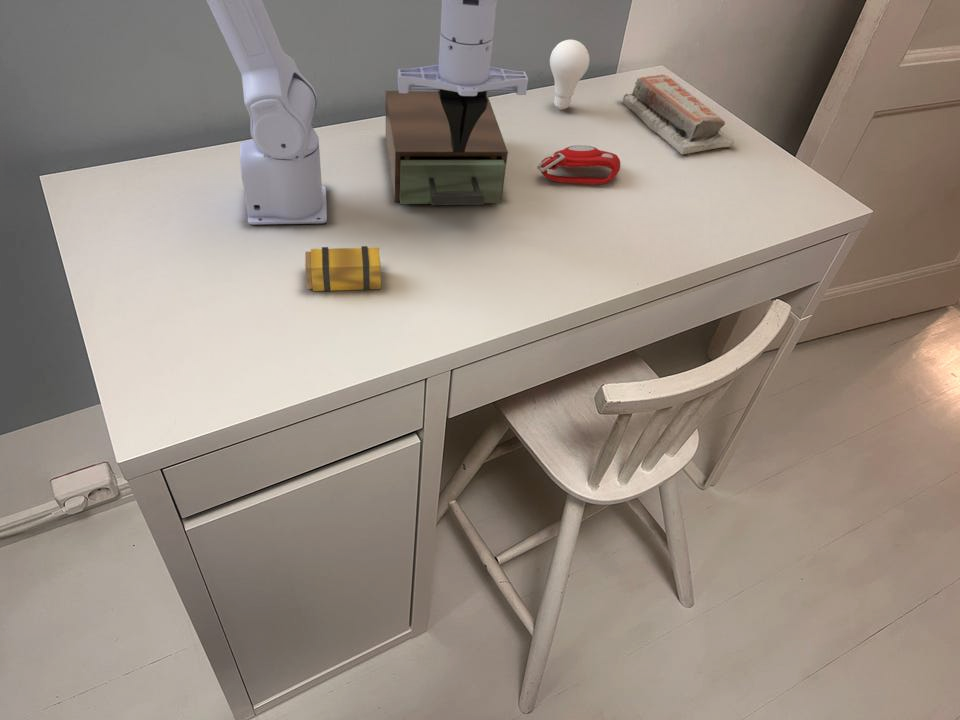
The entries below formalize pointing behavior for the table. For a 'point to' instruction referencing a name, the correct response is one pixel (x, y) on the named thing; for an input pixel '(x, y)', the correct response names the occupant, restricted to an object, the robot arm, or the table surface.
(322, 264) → the pencil bundle
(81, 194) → the table surface
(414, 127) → the cabinet
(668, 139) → the packaged product
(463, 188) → the drawer
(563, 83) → the lightbulb
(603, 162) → the tracker holder
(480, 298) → the table surface
